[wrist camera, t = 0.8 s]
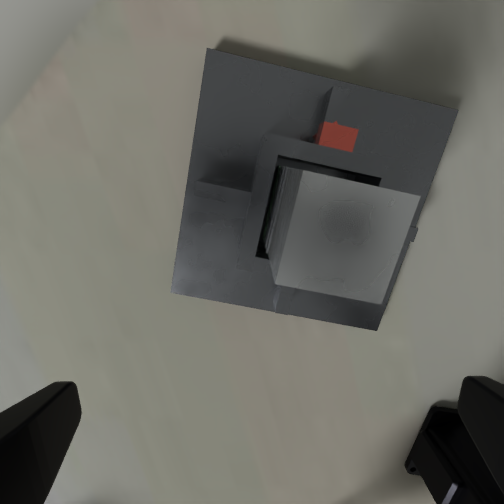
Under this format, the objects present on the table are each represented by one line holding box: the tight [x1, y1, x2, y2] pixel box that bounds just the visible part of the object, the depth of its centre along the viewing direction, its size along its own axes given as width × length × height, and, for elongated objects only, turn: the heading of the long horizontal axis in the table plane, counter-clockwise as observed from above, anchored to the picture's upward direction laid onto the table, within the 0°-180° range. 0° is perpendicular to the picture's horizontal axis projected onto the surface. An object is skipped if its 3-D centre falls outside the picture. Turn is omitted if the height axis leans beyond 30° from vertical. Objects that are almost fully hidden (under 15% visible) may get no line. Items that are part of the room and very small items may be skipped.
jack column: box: [262, 165, 421, 304], centre depth 14 cm, size 4×4×8 cm
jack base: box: [171, 48, 458, 331], centre depth 17 cm, size 14×14×4 cm
